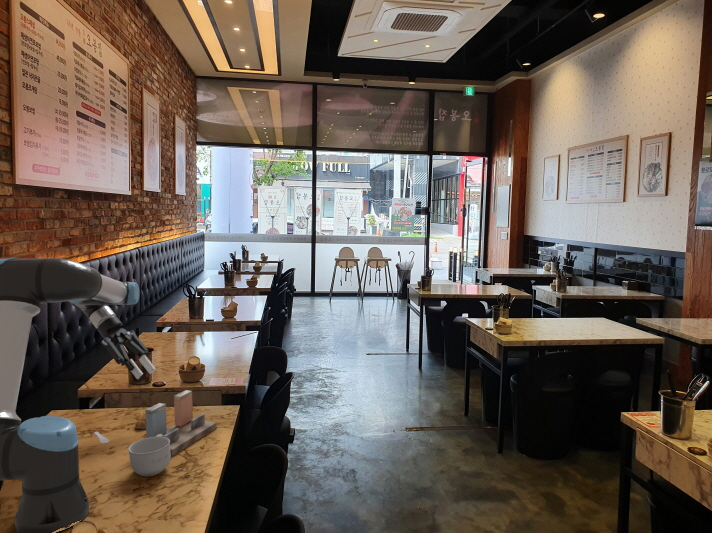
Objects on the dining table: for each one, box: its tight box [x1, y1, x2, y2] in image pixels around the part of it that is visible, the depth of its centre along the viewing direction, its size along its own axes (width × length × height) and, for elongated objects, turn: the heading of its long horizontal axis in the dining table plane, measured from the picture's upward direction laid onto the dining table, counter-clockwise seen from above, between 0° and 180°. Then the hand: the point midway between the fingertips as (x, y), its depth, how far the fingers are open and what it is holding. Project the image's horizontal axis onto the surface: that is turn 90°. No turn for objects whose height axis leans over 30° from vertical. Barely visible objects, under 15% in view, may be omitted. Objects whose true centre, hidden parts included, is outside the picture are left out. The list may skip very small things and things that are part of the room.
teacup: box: [127, 434, 172, 477], centre depth 149 cm, size 14×11×8 cm
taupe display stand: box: [163, 413, 217, 457], centre depth 169 cm, size 22×12×5 cm, turn 160°
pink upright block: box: [173, 389, 194, 426], centre depth 176 cm, size 6×2×10 cm, turn 160°
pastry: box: [134, 413, 146, 430], centre depth 180 cm, size 9×7×4 cm
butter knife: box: [93, 431, 111, 444], centre depth 175 cm, size 1×24×3 cm
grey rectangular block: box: [145, 402, 168, 438], centre depth 164 cm, size 6×2×10 cm, turn 160°
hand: (146, 373), depth 180 cm, fingers open, 5 cm apart
